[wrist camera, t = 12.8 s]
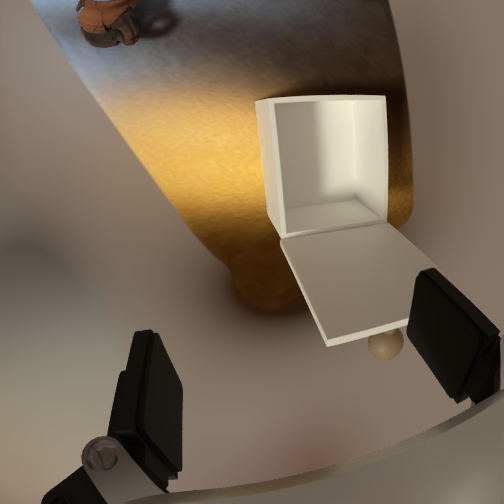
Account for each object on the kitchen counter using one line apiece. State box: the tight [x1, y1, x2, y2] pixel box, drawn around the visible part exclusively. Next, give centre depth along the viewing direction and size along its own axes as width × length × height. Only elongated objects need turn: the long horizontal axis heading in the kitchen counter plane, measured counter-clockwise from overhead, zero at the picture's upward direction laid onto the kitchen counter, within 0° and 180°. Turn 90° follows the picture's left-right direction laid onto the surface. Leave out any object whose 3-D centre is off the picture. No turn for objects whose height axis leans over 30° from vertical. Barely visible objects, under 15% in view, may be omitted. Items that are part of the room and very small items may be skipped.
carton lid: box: [280, 223, 468, 360], centre depth 32 cm, size 16×14×7 cm
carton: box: [255, 95, 388, 239], centre depth 38 cm, size 16×14×9 cm
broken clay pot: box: [76, 0, 140, 48], centre depth 28 cm, size 12×10×8 cm
